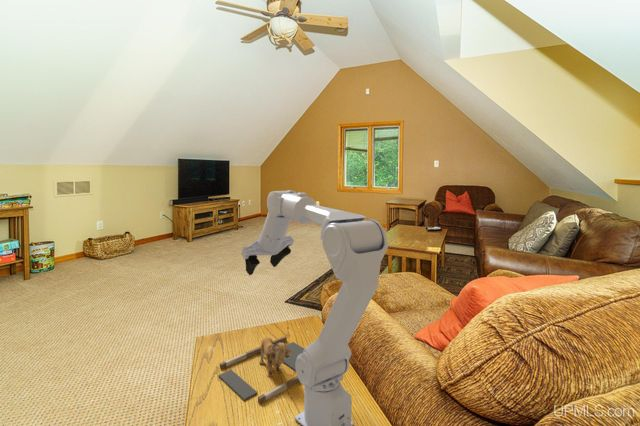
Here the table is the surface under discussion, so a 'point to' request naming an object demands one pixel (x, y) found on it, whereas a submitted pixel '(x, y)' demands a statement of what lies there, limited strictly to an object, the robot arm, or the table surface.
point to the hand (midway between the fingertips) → (261, 268)
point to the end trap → (237, 384)
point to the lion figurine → (273, 354)
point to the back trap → (293, 354)
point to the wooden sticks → (252, 352)
